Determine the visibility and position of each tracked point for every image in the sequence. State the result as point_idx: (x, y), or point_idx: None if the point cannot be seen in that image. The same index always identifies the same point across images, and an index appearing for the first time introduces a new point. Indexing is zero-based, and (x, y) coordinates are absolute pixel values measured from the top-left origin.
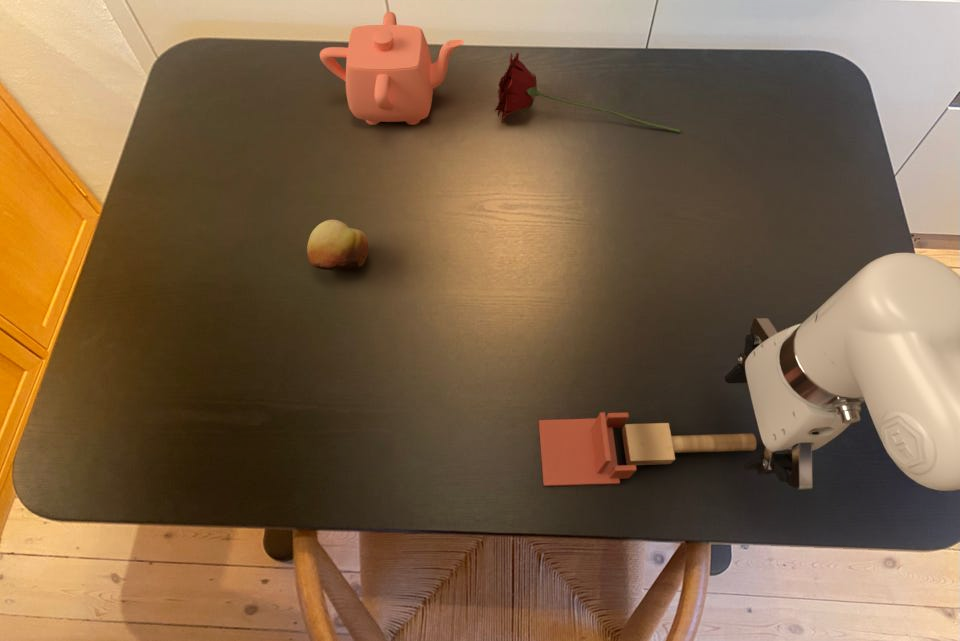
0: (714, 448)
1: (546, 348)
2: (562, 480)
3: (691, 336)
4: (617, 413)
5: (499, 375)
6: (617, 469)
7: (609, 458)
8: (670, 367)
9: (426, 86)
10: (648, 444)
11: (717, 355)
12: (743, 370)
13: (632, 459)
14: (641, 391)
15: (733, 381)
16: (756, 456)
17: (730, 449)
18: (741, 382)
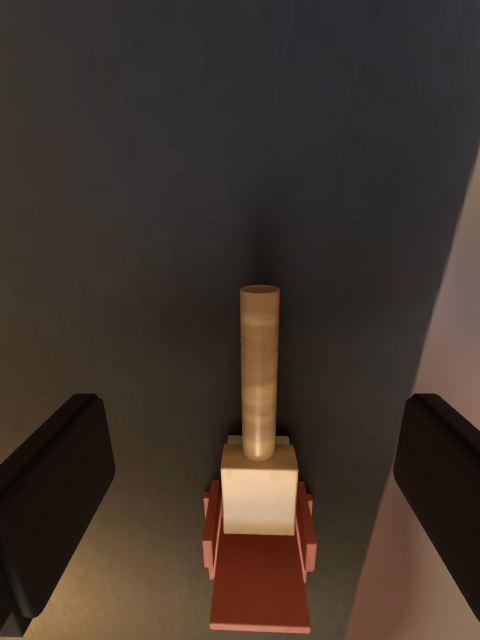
0: (274, 381)
1: (93, 552)
2: (301, 564)
3: (23, 340)
4: (204, 555)
5: (144, 602)
6: (312, 568)
7: (306, 630)
8: (99, 389)
9: None
10: (264, 506)
11: (56, 296)
12: (25, 611)
13: (291, 532)
14: (152, 442)
15: (105, 474)
16: (470, 602)
17: (277, 345)
18: (105, 435)
